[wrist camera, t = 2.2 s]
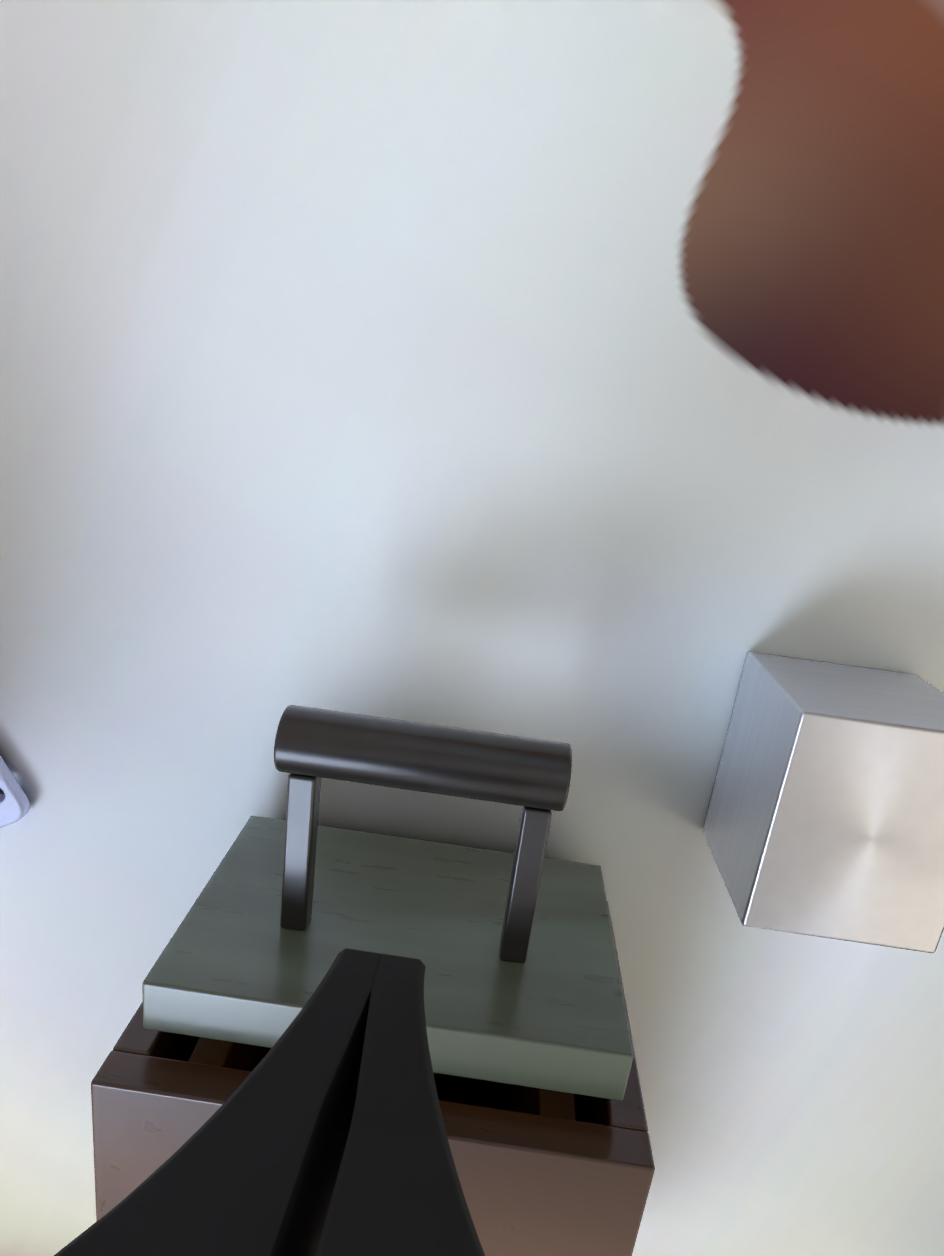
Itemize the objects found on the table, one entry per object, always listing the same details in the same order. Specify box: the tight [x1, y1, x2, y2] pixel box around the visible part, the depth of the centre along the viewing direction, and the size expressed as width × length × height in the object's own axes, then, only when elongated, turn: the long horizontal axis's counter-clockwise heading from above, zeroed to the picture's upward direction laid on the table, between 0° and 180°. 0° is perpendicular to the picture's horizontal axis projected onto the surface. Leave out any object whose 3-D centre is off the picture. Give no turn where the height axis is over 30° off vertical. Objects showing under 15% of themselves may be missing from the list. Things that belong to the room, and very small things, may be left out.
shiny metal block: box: [703, 652, 944, 953], centre depth 18 cm, size 6×4×4 cm
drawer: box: [143, 705, 634, 1121], centre depth 19 cm, size 18×10×6 cm, turn 173°
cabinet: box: [91, 901, 655, 1256], centre depth 20 cm, size 14×11×8 cm
